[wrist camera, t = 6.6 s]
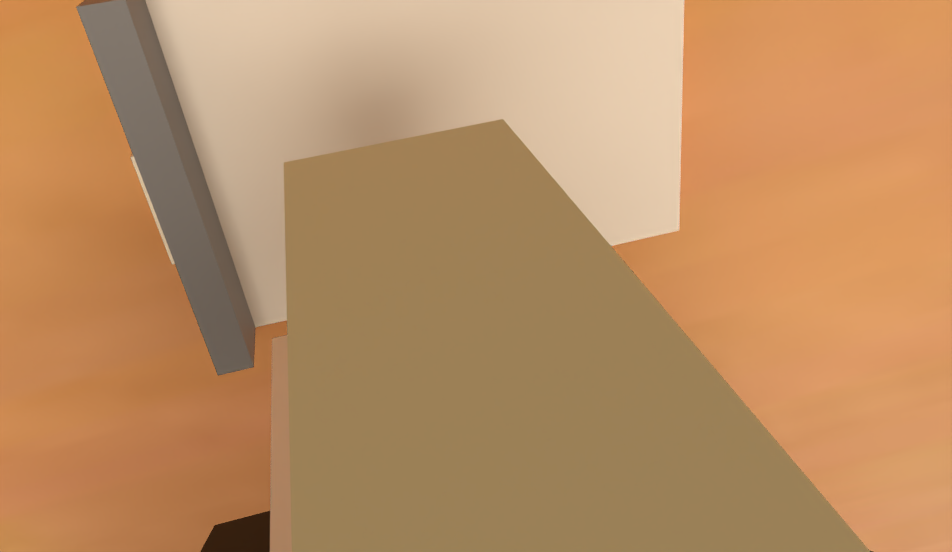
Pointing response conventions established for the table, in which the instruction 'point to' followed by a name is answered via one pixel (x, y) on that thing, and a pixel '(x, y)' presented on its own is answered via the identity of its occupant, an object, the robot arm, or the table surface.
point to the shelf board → (376, 115)
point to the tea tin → (505, 374)
